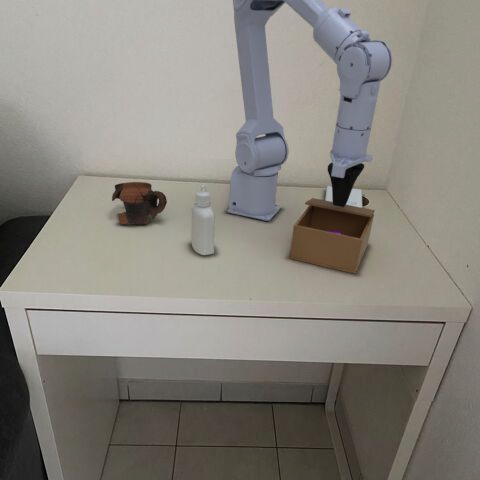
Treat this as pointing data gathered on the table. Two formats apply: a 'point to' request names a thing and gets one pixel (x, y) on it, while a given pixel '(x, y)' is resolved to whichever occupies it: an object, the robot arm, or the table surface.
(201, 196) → the eye dropper bottle
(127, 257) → the table surface
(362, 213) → the carton flap
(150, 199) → the pottery mug
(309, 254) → the carton
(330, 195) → the hard drive
